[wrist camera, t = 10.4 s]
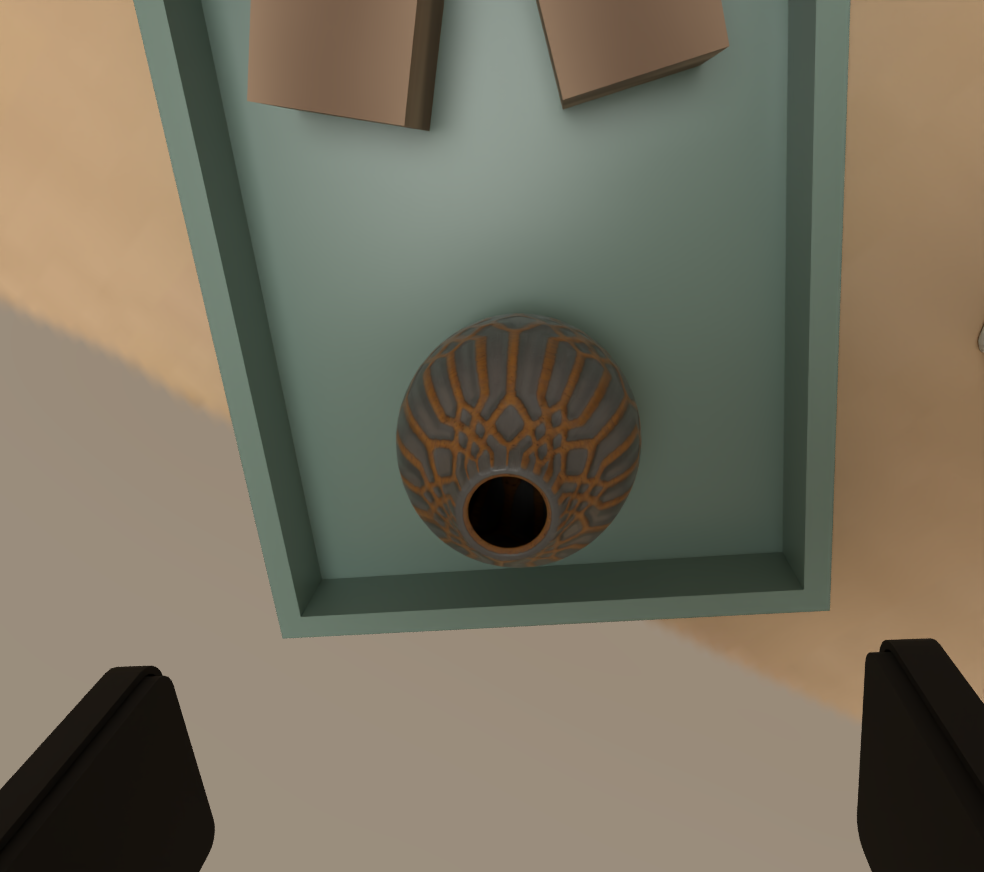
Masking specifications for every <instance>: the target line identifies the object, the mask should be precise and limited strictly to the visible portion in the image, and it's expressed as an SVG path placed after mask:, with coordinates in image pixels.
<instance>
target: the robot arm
mask: <svg viewBox="0 0 984 872" xmlns="http://www.w3.org/2000/svg"><path fill="white" fill-rule="evenodd" d="M857 825H858V832H859V837H860V841H861V845H862V848H863V851H864V854H865V856H866V859H867V861H868V863H869V866H870V868H871V871H872V872H984V704H983V702H982V701H981V700H980V698H979V697H978V695H977V694H976V693H975V691H974V690H973V689H972V687H971V686H970V685H969V683H968V682H967V681H966V679H965V678H964V676H963V675H962V674H961V672H960V671H959V670H958V668H957V667H956V666H955V664H954V663H953V662H952V660H951V659H950V658H949V656H948V655H947V653H946V652H945V651H944V649H943V648H942V647H941V645H940V644H939V643H938V642H937V641H936V640H934V639H931V638H930V639H901V640H885V641H883V642H882V644H881V647H880V652H871V653H868V654H867V657H866V662H865V678H864V696H863V714H862V733H861V751H860V770H859V789H858V807H857ZM214 833H215V826H214V819H213V816H212V813H211V809H210V806H209V803H208V800H207V796H206V793H205V789H204V786H203V782H202V779H201V776H200V773H199V769H198V766H197V763H196V759H195V756H194V752H193V749H192V746H191V743H190V739H189V736H188V732H187V729H186V725H185V722H184V719H183V716H182V712H181V709H180V705H179V702H178V699H177V695H176V692H175V689H174V685H173V683H172V681H171V680H170V678H169V677H166V676H163V675H162V673H161V671H160V670H159V669H158V668H156V667H154V666H132V667H131V666H129V667H115V668H111V669H110V670H109V671H108V672H106V673H105V675H103V677H102V678H101V679H100V680H99V681H98V682H97V683H96V684H95V686H93V688H92V689H91V690H90V691H89V692H88V693H87V694H86V695H85V696H84V698H83V699H82V700H81V701H80V702H79V703H78V704H77V705H76V706H75V708H74V709H73V710H72V711H71V712H70V713H69V714H68V715H67V716H66V718H65V719H64V720H63V721H62V722H61V723H60V724H59V725H58V726H57V728H56V729H55V730H54V731H53V732H52V733H51V734H50V735H49V736H48V737H47V739H46V740H45V741H44V742H43V743H42V744H41V745H40V746H39V747H38V748H37V750H36V751H35V752H34V753H33V754H32V755H31V756H30V757H29V758H28V760H27V761H26V762H25V763H24V764H23V765H22V766H21V767H20V769H19V770H18V771H17V772H16V773H15V774H14V775H13V776H12V777H11V778H10V779H9V781H8V782H7V783H6V784H5V785H4V786H3V787H2V788H1V790H0V872H199V871H200V869H201V868H202V865H203V864H204V862H205V860H206V858H207V856H208V854H209V852H210V850H211V847H212V844H213V840H214Z"/></svg>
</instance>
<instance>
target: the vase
mask: <svg viewBox="0 0 984 872" xmlns="http://www.w3.org/2000/svg"><path fill="white" fill-rule="evenodd" d="M641 442H642V437H641V425H640V418H639V413H638V408H637V405H636V401H635V398H634V395H633V393H632V390H631V388H630V386H629V383H628V381H627V379H626V377H625V376H624V374H623V372H622V371H621V369H620V368H619V366H618V365H617V363H616V362H615V361H614V359H613V358H612V357H611V356H610V354H609V353H608V352H607V351H606V350H605V349H604V348H603V347H602V346H601V345H600V344H599V343H598V342H597V341H595V340H594V339H593V338H592V337H590V336H589V335H587V334H586V333H585V332H583V331H581V330H580V329H578V328H576V327H574V326H572V325H570V324H568V323H565V322H563V321H560V320H557V319H554V318H551V317H546V316H542V315H535V314H524V313H520V314H504V315H498V316H493V317H489V318H485V319H482V320H479V321H477V322H474V323H472V324H470V325H468V326H466V327H464V328H462V329H460V330H459V331H457V332H456V333H454V334H453V335H451V336H450V337H449V338H447V339H446V340H445V341H443V342H442V343H441V344H440V345H439V346H438V347H436V348H435V349H434V351H433V352H432V353H431V354H430V355H429V356H428V357H427V358H426V360H425V361H424V362H423V363H422V365H421V366H420V367H419V369H418V370H417V372H416V373H415V375H414V377H413V378H412V380H411V382H410V384H409V386H408V388H407V391H406V393H405V395H404V398H403V401H402V404H401V407H400V411H399V416H398V422H397V430H396V451H397V461H398V467H399V471H400V475H401V479H402V482H403V485H404V488H405V491H406V493H407V495H408V498H409V500H410V502H411V504H412V506H413V507H414V509H415V511H416V512H417V514H418V515H419V517H420V518H421V519H422V521H423V522H424V523H425V524H426V525H427V527H428V528H429V529H430V530H431V531H432V532H433V533H434V534H435V535H436V536H437V537H438V538H439V539H440V540H442V541H443V542H444V543H445V544H447V545H448V546H450V547H451V548H453V549H454V550H456V551H457V552H459V553H461V554H463V555H465V556H467V557H469V558H472V559H474V560H477V561H480V562H483V563H486V564H491V565H495V566H501V567H512V568H523V567H534V566H540V565H545V564H549V563H553V562H556V561H559V560H561V559H564V558H566V557H568V556H570V555H572V554H574V553H576V552H578V551H579V550H581V549H582V548H584V547H586V546H587V545H588V544H590V543H591V542H592V541H594V540H595V539H596V538H597V537H598V536H599V535H600V534H601V533H602V532H603V531H604V530H605V529H606V528H607V527H608V526H609V525H610V524H611V522H612V521H613V520H614V519H615V517H616V516H617V515H618V513H619V512H620V510H621V508H622V507H623V505H624V503H625V502H626V500H627V498H628V496H629V494H630V491H631V489H632V486H633V484H634V481H635V478H636V475H637V471H638V467H639V462H640V454H641Z"/></svg>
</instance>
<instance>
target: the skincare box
mask: <svg viewBox="0 0 984 872" xmlns="http://www.w3.org/2000/svg"><path fill="white" fill-rule="evenodd" d="M978 344H979V349H980V351H982V352H984V326H983V329H982V331H981V334H980V337H979V339H978Z"/></svg>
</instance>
